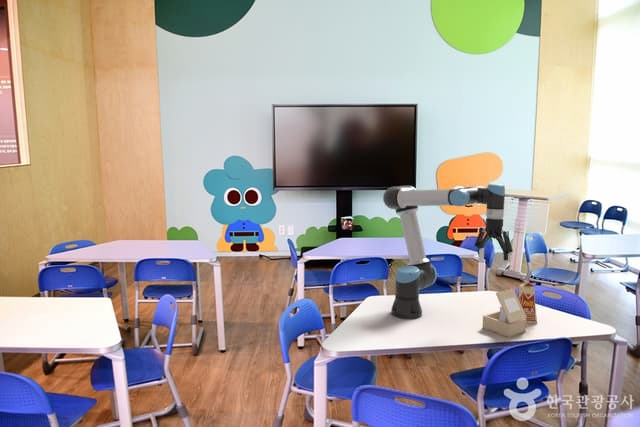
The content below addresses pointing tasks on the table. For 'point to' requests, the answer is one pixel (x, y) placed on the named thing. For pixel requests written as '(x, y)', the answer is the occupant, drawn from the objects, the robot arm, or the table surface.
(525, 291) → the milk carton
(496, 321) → the box
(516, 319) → the lid
